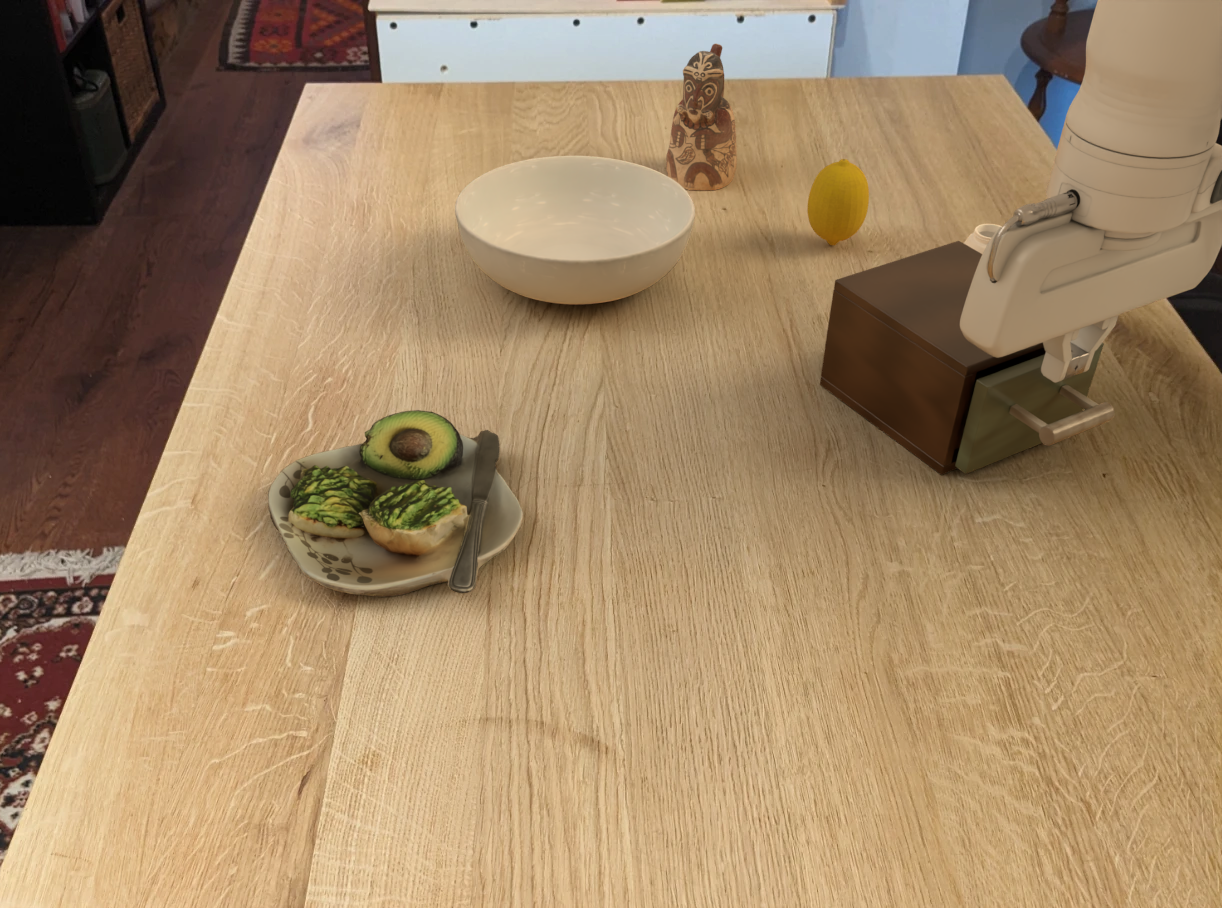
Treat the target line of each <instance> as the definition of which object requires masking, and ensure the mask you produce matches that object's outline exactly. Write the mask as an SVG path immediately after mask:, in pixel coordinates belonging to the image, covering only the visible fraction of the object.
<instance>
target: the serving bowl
mask: <svg viewBox="0 0 1222 908" xmlns="http://www.w3.org/2000/svg"><path fill="white" fill-rule="evenodd" d="M454 215H455V219H456V220H455V221H456V224H457V228H458V232H459V235H460V238H461V240H462V243H463V246H464V248H465V250H466V251H467V253H468V255H469V257H470V258H471V260H472V261H473V262H474V264H476V266H477V267H478V268H479V270H481V271H482V273H484V274H485V276H487V277H488V278H490V279H491V280H492V281H493V282H495V283H496V284H498V285H499V286H501V287H503V288H504V289H506V290H508V291H511V292H512V293H514V294H517V295H519V296H522V297H525V298H528V299H531V300H532V299H533V300H536V301H540V302H546V303H552V304H559V305H560V304H561V305H592V304H593V305H594V304H601V303H609V302H613V301H617V300H621V299H624V298H627V297H631V296H633V295H636V294H639V293H641V292H643V291H645V290H647V289H648V288H650V287H652V286H653V285H655V284H656V283H658V282H659V281H661V280H662V279H663V278H664V277H666V276H667V275H668V274H669V273H670V272H671V271H672V269H673V268H674V267H675V266H676V265H677V263H678V262H679V261H680V259H681V258H682V256H683V254H684V252H685V250H686V249H687V247H688V243H689V241H690V239H691V236H692V231H693V227H694V223H695V218H696V207H695V202H694V201H693V198H692V197H691V196H690V193H689V192H688V191H687V189H684V188H683V187H682V186H681V185H680V184H679V183H677V182H676V181H675V180H673V179H672V178H670V177H668V175H666V174H664V173H662V172H660V171H658V170H655V169H653V168H651V167H648V166H645V165H641V164H638V163H634V162H632V161H626V160H622V159H617V158H611V157H603V156H593V155H554V156H543V157H533V158H529V159H524V160H523V159H522V160H520V161H515V162H514V161H513V162H511V163H507V164H504V165H501V166H498V167H495V168H493V169H490V170H489V171H486V172H483V173H482V174H481V175H479V176H478V177H475V178H474V179H473V180H471V181H470V182H469V183H468V184H467V185H465V186H464V187H463V189H462V190H461V191H460V193H458V196H457V198H456V200H455V204H454Z"/></svg>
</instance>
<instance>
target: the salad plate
mask: <svg viewBox="0 0 1222 908" xmlns="http://www.w3.org/2000/svg"><path fill="white" fill-rule="evenodd" d="M364 437H365V439H366V440H365V441H363V442H362V443H359V444H353V445H347V446H342V447H340V448H335V449H330V450H325V451H320V452H316V453H313V454H310V455H306V456H304V457H301V458H299V459H295V460H294V461H293V462H291V463H289V464H288V465H286V466H285V467H284V468H283V469H281V471H280V472H279V474H277V475H276V477H275V479H274V480H273V481H272V483H271V484H270V486H269V489H268V491H267V506H268V511H269V515H270V520H271V522H272V524H273V526H274V527H275V529H276V530H277V531H278V532H279V534H280V536H281V538H282V540H283V542H284V544H285V546H286V548H287V550H288V552H289V554H290V555H291V557H292V559H293V560H294V562H295V563H296V564H297V566H298V567H299V569H300V571H301V572H302V573H303V575H304V576H305V577H307V578H308V579H309V580H311V581H313V582H315V583H317V584H318V585H320V586H322V587H324V588H326V589H329V590H333V591H337V592H341V593H345V594H346V593H347V594H350V595H364V596H369V597H378V598H379V597H380V598H382V597H396V596H402V595H406V594H409V593H412V592H415V591H418V590H421V589H425V588H427V587H429V586H433V585H437V584H441V583H446V582H447V587H448V588H449V590H450V591H451V592H453V593H456V594H457V593H458V594H468V593H469V594H470V593H471V592H473V591H474V590H475V588H476V586H477V580H478V575H479V570H480V568H481V567H482V566H483V565H485V564H486V563H488V562H490V561H491V560H492V559H493V558H495V557H496V556H498V555H499V554H501V553H503V552H504V551H505V550H506V549H507V548H508V547H509V545H510V544H511V543H512V541H513V540H514V538H515V537H516V535H517V533H518V532H519V530H520V529H521V528H522V525H523V519H524V510H523V509H522V506H521V504H520V501H519V500H518V498H517V496H516V494H515V493H514V492H513V491H512V489H511V488H510V487H509V485H508V484H507V482H506V481H505V479H504V477H503V476H502V475H501V474H500V473H499V472H498V470H497V466H496V465H497V462H498V461H499V459H500V452H501V451H500V449H501V446H500V445H501V444H500V438H499V435H498V434H496V433H495V432H493V431H492V432H491V431H490V430H489V429H484V430H481V431H479V433H478V435H477V436H475V437H468V436H466V435H463V434H460V432H459V431H458V430H457V428H456V427H455V426H454V424H453V423H452V422H451V421H450V420H448V419H447V418H446V417H444V416H443V415H440V414H438V413H436V412H433V411H429V410H419V409H416V410H404V411H399V412H396V413H392V414H388V415H386V416H384V417H381V418H380V419H378V420H376V421H375V422H374V423H373V424H372V425H371V427H370V429H368V430H366V431H365V432H364Z"/></svg>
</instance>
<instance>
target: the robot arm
mask: <svg viewBox="0 0 1222 908" xmlns="http://www.w3.org/2000/svg"><path fill="white" fill-rule="evenodd" d="M1221 120H1222V0H1097V2H1096V5H1095V8H1094V12H1093V15H1092V20H1091V22H1090V26H1089V30H1088V33H1087V38H1086V44H1085V69H1084V75H1083V78H1082V82H1081V84H1080V87H1079V89H1078V91H1077V92H1076V95H1075V96H1074V97H1073V99H1072V101H1071V103H1070V105H1069V107H1068V109H1067V113H1066V115H1065V119H1064V123H1063V127H1062V130H1061V134H1060V137H1059V142H1058V145H1057V148H1056V153H1055V156H1054V159H1053V163H1052V167H1051V170H1050V174H1049V179H1048V182H1047V185H1046V190H1045V196H1046V199H1044V200H1042V201H1039V202H1036V203H1035V202H1033V203H1027V204H1024V205H1022V206H1020V207H1018V208H1017V209H1015V210H1014V211H1013V213H1012V217H1010V218H1009V219H1008V220H1007V221H1006V222H1005V223H1004V224H1003V225H1001V226H1002V228H999V229H998V230H997V231H996V232H995V234H994V235H993V236H992V238H991V239H990V241H989V242H988V244H987V246H986V248H985V250H984V252H983V254H982V256H981V259H980V261H979V264H978V266H977V269H976V272H975V274H974V277H973V280H972V283H971V286H970V289H969V292H968V295H967V298H966V301H965V304H964V308H963V311H962V314H961V318H960V329H961V331H962V333H963V335H964V337H965V338H966V339H967V340H968V341H969V342H971V343H972V344H974V345H975V346H977V347H978V348H980V349H981V350H983V351H984V352H986V353H988V354H989V355H991V356H993V357H997V358H999V357H1003V356H1006V355H1009V354H1012V353H1014V352H1017V351H1020V350H1023V349H1025V348H1028V347H1031V346H1034V345H1037V344H1039V343H1042V342H1043V345H1044V349H1045V351H1046V353H1045V356H1044V360H1043V363H1042V367H1041V372H1042V374H1043V376H1045V377H1046V378H1048V379H1050V380H1051V381H1053V382H1055V383H1056V382H1059V381H1062V380H1064V379H1067V378H1069V377H1072V376H1074V375H1077V374H1080V373H1083V372H1086V371H1088V369H1089V367H1090V364H1091V361H1092V358H1093V356H1094V353H1095V351H1096V350H1097V349H1098V348H1099V346H1100V345H1101V344H1102V342H1103V343H1104V341H1105V340H1106V339H1107V337H1108V336H1109V335H1110V333H1111V332H1112V331H1113V329H1114V328H1115V327H1116V325H1117V322H1118V319H1119V317H1120V315H1123V314H1127V313H1129V312H1131V311H1134V310H1137V309H1140V308H1142V307H1146V306H1148V305H1151V304H1154V303H1157V302H1159V301H1162V300H1165V299H1167V298H1170V297H1174V296H1176V295H1179V294H1182V293H1185V292H1187V291H1191V290H1193V289H1195V288H1197V286H1198V285H1199V284H1200V283H1201V282H1202V281H1203V280H1204V278H1205V277H1206V276H1207V275H1208V273H1209V272H1210V271H1211V269H1212V268H1213V266H1214V264H1215V262H1216V259H1217V257H1218V255H1219V253H1220V250H1221V248H1222V145H1221V144H1219V143H1217V140H1218V137H1219V134H1220V127H1221Z"/></svg>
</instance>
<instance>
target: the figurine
mask: <svg viewBox="0 0 1222 908" xmlns="http://www.w3.org/2000/svg"><path fill="white" fill-rule="evenodd" d="M722 51H723V46H722V45H721V44H719V43H713V44H712V45H711V47H710V51H709V50H700V51H698V52H696V53H695V54H693V56H691V57H690V58H689V61H688V62H687V64H686V65H685V66H684V67H683V69H682V75H683V86H682V99H681V101H679V103H678V104H677V106H676V108H675V110H674V114H673V118H672V123H671V130H670V138H669V144H668V149H667V153H666V156H665V159H666V163H665V164H666V165H665V169H666V172H667V176H668V177H670V178H672V179H673V180H675V181H676V182H677V183H679V184H680V185H681V186H682V187H683V188H684V189H685V190H686V191H687V190H688V191H716V190H719V189H722V188H725V187H727V186H728V185H730V184H731V183H732V181H733V179H734V177H735V174H736V170H737V164H738V163H737V162H738V157H737V156H738V153H737V150H738V149H737V131H736V118H735V114H734V111H733V108H732V106H731V104H730V103H729V101H728V100H727V99H726V98H725V97H724V94H725V73H724V72H725V71H724V65H723V61H722V59H721V55H722Z"/></svg>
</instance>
